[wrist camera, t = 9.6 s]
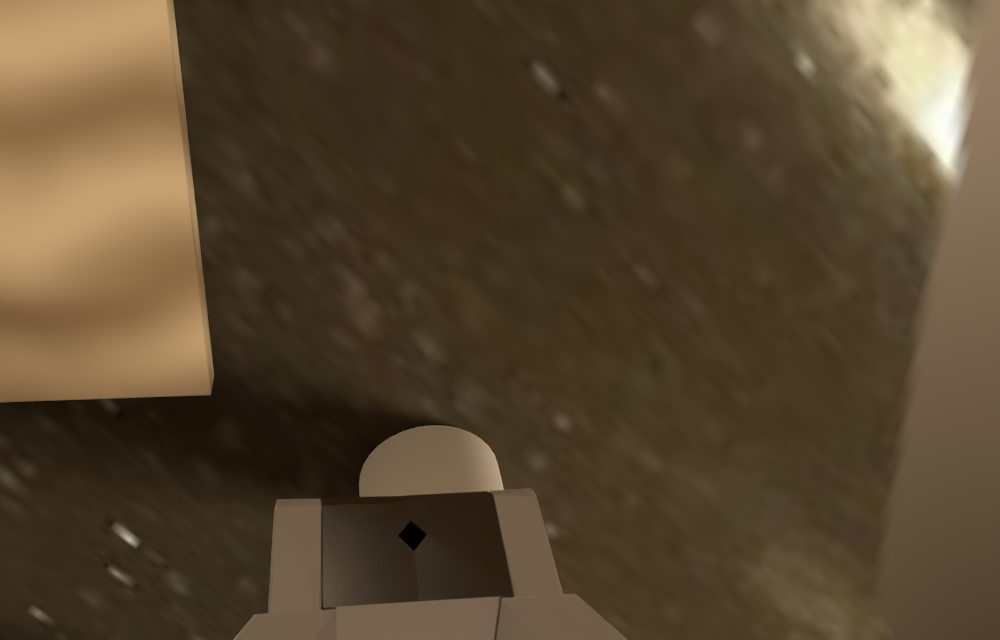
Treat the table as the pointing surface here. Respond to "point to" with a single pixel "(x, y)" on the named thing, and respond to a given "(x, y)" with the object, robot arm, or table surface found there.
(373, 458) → the cylindrical container
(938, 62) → the table surface
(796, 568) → the table surface
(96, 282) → the cutting board
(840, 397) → the table surface
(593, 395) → the table surface
